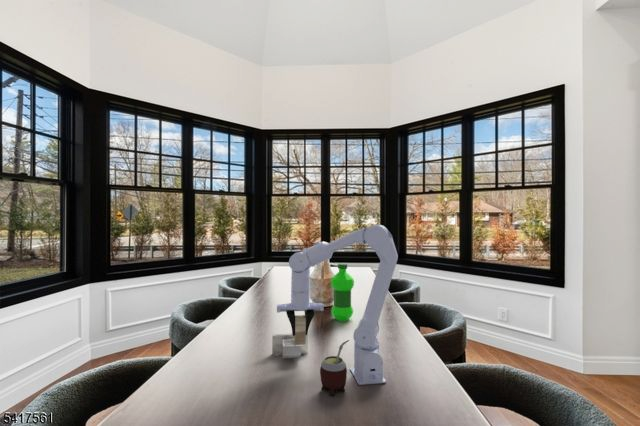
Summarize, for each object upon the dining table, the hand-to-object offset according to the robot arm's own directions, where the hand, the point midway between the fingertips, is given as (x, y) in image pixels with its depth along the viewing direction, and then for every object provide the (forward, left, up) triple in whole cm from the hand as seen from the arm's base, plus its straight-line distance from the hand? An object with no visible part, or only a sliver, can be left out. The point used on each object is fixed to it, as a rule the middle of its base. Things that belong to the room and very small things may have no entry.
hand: (299, 334), depth 99 cm
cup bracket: (+5, +2, -9) cm, 11 cm away
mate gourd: (-16, -8, -10) cm, 20 cm away
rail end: (0, 0, -3) cm, 3 cm away
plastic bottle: (+42, -24, -10) cm, 49 cm away
